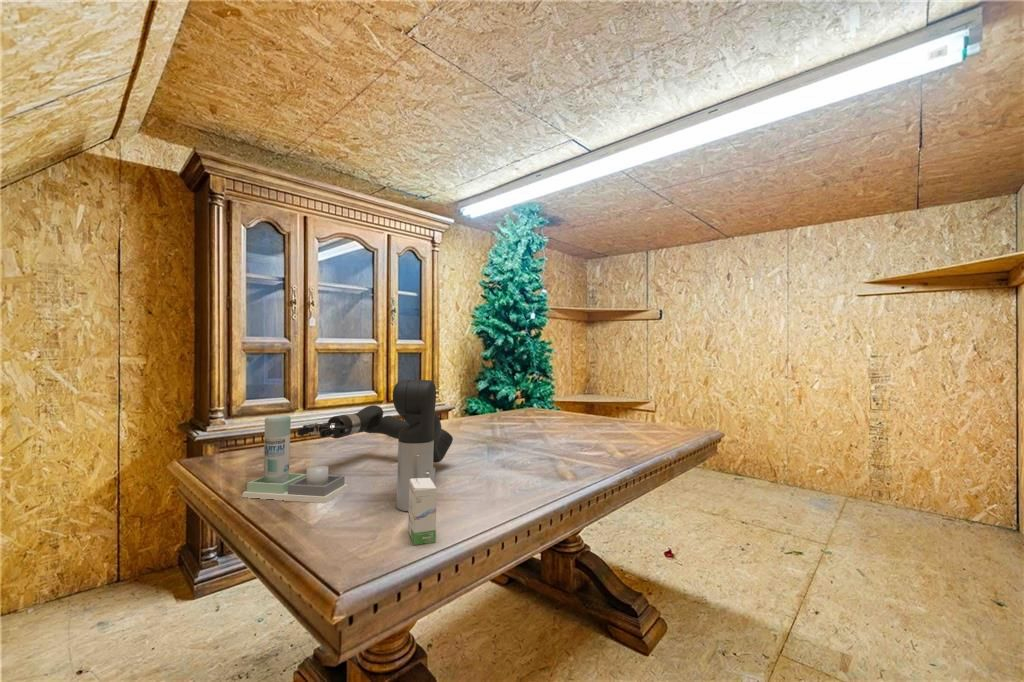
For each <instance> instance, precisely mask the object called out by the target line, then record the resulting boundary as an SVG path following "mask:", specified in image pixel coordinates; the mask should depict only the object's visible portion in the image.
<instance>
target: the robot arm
mask: <svg viewBox="0 0 1024 682" xmlns="http://www.w3.org/2000/svg"><path fill="white" fill-rule="evenodd" d="M436 386H437V385H436V384H435V382H434V381H433V380H430V379H403V380H400V381H398V382H396V384H395V385H394V387H393V390H392V403H393V407H394V409H395V411H396V413H397V414H398V416H400V417H401V419H400V418H397V417H394V416H392V415H385V416H384V410H383V409H382V407H380V406H379V405H376V404H375V405H372V404H371V405H369V406H366V407H363V408H362V409H361V410H359V411H358V412H356V413H355V412H354V413H346V414H340V415H333V416H332V417H330V418H329V419H328V421H326V422H325V421H324V422H322V423H317V422H316V423H310V424H304V425H302V427H299V428H298V429H297V436H305V435H311V434H313V435H315V436H316V435H319V437H320V438H326V437H331V438H333V439H340V438H344V437H349V436H352V435H354V434H357V433H362V432H364V433H366V434H381V435H386V436H388V437H391V438H393V439H396V440H397V439H398V444H397V451H398V452H397V474H396V475H397V477H396V478H397V479H396V508H397V509H398V510H400V511H403V512H409V480H410V479H413V478H430V479H431V480H432V482H433V483H434V485H435V486H436V466H435V467H434V463H440V462H442V460H443V459H444V458H445V457H446V454H447V452H448V450H449V449H450V447H451V445H452V444H453V440H454V438H453V436H452V435H451V433H449V432H448V431H447V430H445V429H442V423H441V420H440V418H439V415H438V412H436V404H437V403H436V401H437V387H436Z"/></svg>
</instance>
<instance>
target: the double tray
mask: <svg viewBox="0 0 1024 682" xmlns="http://www.w3.org/2000/svg"><path fill="white" fill-rule="evenodd" d="M348 485H349V484H348V483H347V484H346V483H345V475H330V474H329V466H328V465H312V466H309V467H307V468H306V473H293V472H289V481H287V482H285V483H283V484H279V483H264V475H263V476H260V477H258V478H255V479H253V480H251V481H248V482H247V485H246V486H247V487H246V490H245V491H243V492H242V498H243V497H248V498H247V499H250V498H260V499H259V500H266V499H274V500H273V501H282V500H284V501H283V502H285V501H286V502H287V501H288V502H301V503H302V502H303V503H317V504H326V503H327V502H329V501H331V500H333V499H334V498H336V497H338V496H339V495H341V494H342V493H344V492H346V491H347V490H349V489H348V488H349V487H348Z"/></svg>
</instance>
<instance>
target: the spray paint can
mask: <svg viewBox="0 0 1024 682" xmlns="http://www.w3.org/2000/svg"><path fill="white" fill-rule="evenodd" d="M291 420H292V418H291V416H290V415H286V414H285V415H283V414H281V415H279V414H278V415H271V416H270V415H269V416H266V417H265V419H264V441H263V444H264V446H263V447H264V449H263V450H264V451H263V452H264V453H263V476H264V483H279V484H283V483H285V482H287V481H289V473H290V456H291V455H290V451H291V449H290V448H291V424H292V422H291Z"/></svg>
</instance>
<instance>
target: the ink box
mask: <svg viewBox="0 0 1024 682" xmlns="http://www.w3.org/2000/svg"><path fill="white" fill-rule="evenodd" d="M437 489H438V488H437V487H436V484H435V485H434V483H433V482H432V480H431V479H430V478H413V479H410V480H409V511H408V518H407V519H408V522H407V526H408V527H407V531H408V534H409V536H410V539H411V541H412V545H414V546H418V544H419V545H424V544H423V543H426V544H430V543H429V542H432V543H436V542H435V541H437V540H436V538H437V537H436V536H437V533H436V532H437Z"/></svg>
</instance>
